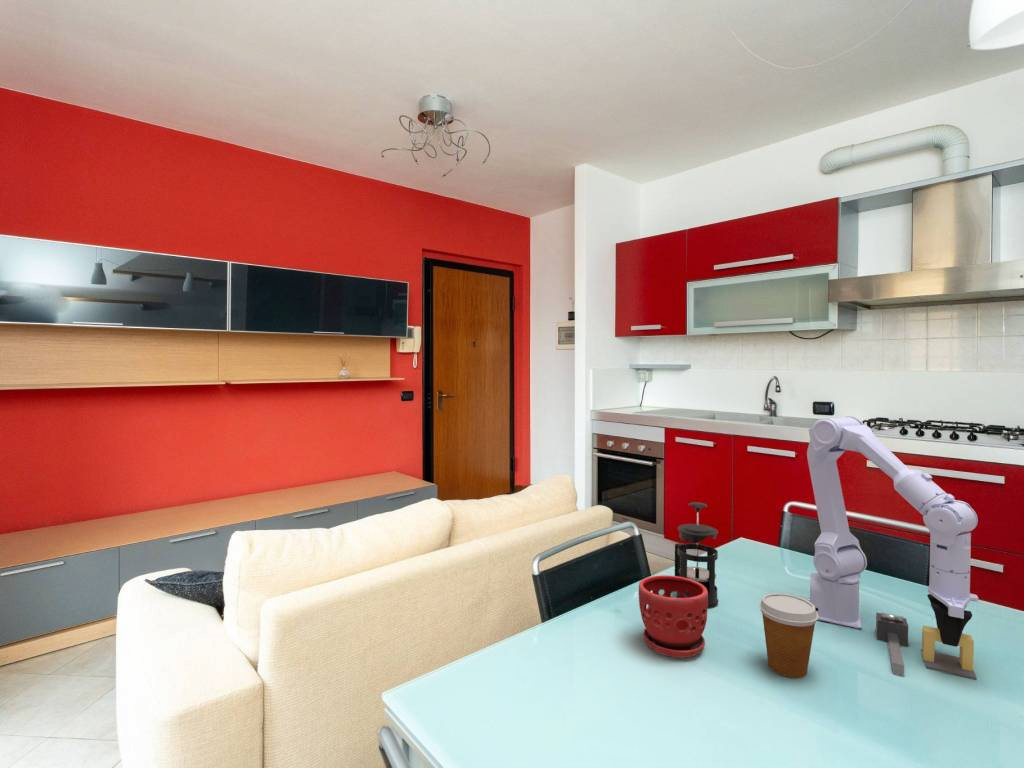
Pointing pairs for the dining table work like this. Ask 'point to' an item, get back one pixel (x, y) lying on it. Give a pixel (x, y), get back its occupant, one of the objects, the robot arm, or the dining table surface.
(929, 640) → the yellow pull handle
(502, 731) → the dining table surface
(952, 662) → the rubber mat
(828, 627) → the dining table surface
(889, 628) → the grey block with bar
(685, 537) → the french press
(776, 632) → the disposable coffee cup
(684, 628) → the plant pot
